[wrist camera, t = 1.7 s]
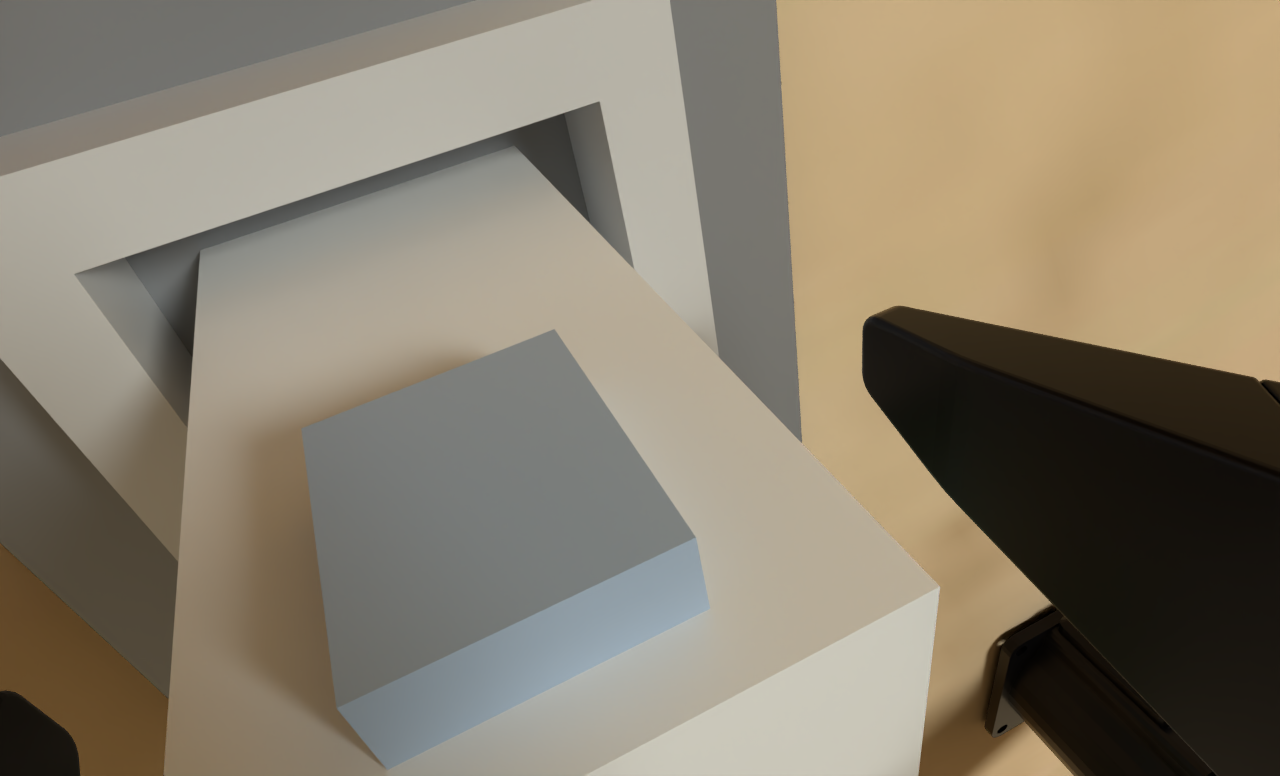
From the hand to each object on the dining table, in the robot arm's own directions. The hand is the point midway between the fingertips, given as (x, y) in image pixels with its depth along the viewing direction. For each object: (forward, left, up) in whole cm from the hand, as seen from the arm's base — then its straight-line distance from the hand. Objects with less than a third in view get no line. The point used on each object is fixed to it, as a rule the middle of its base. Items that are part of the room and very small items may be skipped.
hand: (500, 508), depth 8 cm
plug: (0, 0, -4) cm, 4 cm away
